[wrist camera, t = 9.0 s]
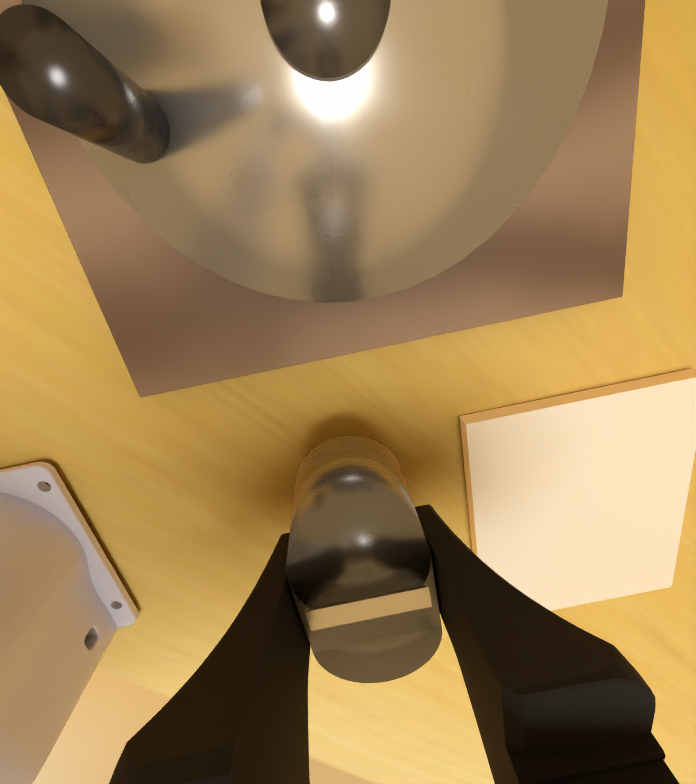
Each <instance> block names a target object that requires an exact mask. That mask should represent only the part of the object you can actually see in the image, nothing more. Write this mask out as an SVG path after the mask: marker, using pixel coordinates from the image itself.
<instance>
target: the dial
mask: <svg viewBox="0 0 696 784" xmlns="http://www.w3.org/2000/svg"><path fill="white" fill-rule="evenodd" d="M21 1H22V4H20V5H15V6H12V7H9V8H8V9H6V10H4V11H3V12H2V13H1V14H0V85H1V87H2V89H3V90H4V92H5V93H6V94H7V95H8V97H9V98H10V99H11V100H12V101H13V102H14V103H15V104H16V105H17V106H18V107H19V108H20V109H22V110H23V111H24V112H26V113H27V114H29V115H31V116H33V117H34V118H37V119H39V120H41V121H43V122H46V123H48V124H50V125H52V126H55V127H57V128H59V129H61V130H64V131H66V132H68V133H70V134H72V135H75V136H77V137H78V138H79V140H80V141H81V143H82V145H83V146H84V148H85V150H86V151H87V153H88V155H89V156H90V158H91V159H92V161H93V162H94V163H95V165H96V166H97V167H98V169H99V170H100V171H101V173H102V174H103V175H104V177H105V178H106V179H107V180H108V182H109V183H110V184H111V186H112V187H113V188H114V190H115V191H116V192H117V193H118V195H119V196H120V197H121V198H122V199H123V200H124V201H125V202H126V203H127V204H128V205H129V206H130V207H131V208H132V209H133V211H134V212H135V213H136V214H137V215H138V216H139V217H140V218H141V219H142V220H143V221H144V222H145V223H146V224H147V225H148V226H150V227H151V228H152V229H153V230H154V231H155V232H156V233H158V234H159V235H160V236H161V237H162V238H163V239H165V240H166V241H167V242H168V243H169V244H170V245H172V246H173V247H174V248H176V249H177V250H179V251H180V252H182V253H183V254H185V255H186V256H188V257H189V258H191V259H192V260H193V261H195V262H196V263H198V264H199V265H201V266H203V267H204V268H206V269H208V270H210V271H212V272H214V273H216V274H218V275H220V276H222V277H224V278H226V279H227V280H229V281H231V282H234V283H237V284H239V285H242V286H245V287H247V288H250V289H253V290H255V291H258V292H261V293H265V294H269V295H273V296H278V297H282V298H286V299H290V300H299V301H309V302H319V303H327V302H352V301H358V300H364V299H370V298H376V297H381V296H384V295H388V294H391V293H394V292H397V291H401V290H404V289H407V288H410V287H412V286H414V285H416V284H419V283H421V282H423V281H425V280H427V279H430V278H432V277H434V276H436V275H438V274H440V273H441V272H443V271H444V270H446V269H448V268H449V267H451V266H452V265H454V264H456V263H457V262H459V261H461V260H462V259H464V258H465V257H466V256H467V255H469V254H470V253H471V252H472V251H474V250H475V249H476V248H477V247H479V246H480V245H481V244H482V243H484V242H485V241H486V240H487V239H489V238H490V237H491V236H492V235H493V234H494V233H495V232H496V231H497V230H498V229H499V228H500V227H501V226H502V225H503V224H504V223H505V222H506V221H507V220H508V219H509V218H510V217H511V216H512V215H513V214H514V212H515V211H516V210H517V209H518V207H519V206H520V205H521V203H522V202H523V201H524V200H525V198H526V197H527V196H528V195H529V193H530V192H531V191H532V190H533V188H534V187H535V186H536V184H537V183H538V181H539V180H540V178H541V177H542V175H543V173H544V172H545V170H546V169H547V167H548V165H549V164H550V162H551V161H552V159H553V158H554V156H555V154H556V153H557V151H558V149H559V147H560V145H561V143H562V141H563V139H564V137H565V135H566V133H567V131H568V129H569V127H570V125H571V123H572V121H573V119H574V117H575V115H576V112H577V109H578V107H579V104H580V102H581V99H582V96H583V94H584V91H585V88H586V86H587V83H588V81H589V78H590V75H591V72H592V68H593V65H594V61H595V57H596V54H597V50H598V47H599V43H600V39H601V36H602V32H603V27H604V22H605V16H606V11H607V5H608V0H21Z"/></svg>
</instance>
